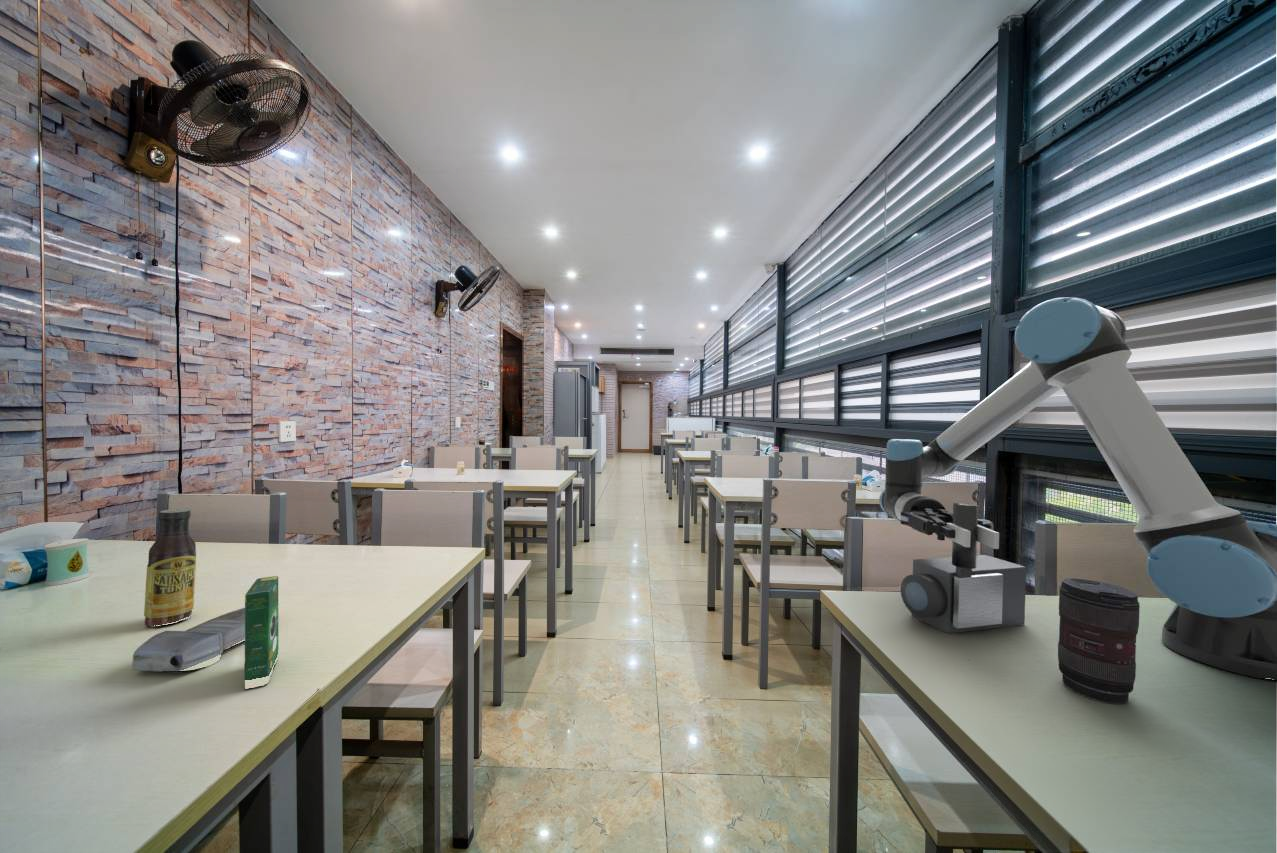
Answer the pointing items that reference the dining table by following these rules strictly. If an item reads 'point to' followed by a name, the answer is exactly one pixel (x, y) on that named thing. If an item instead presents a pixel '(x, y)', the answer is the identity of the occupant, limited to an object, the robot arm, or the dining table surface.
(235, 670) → the dining table surface
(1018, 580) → the camera housing
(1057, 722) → the dining table surface
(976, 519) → the side door
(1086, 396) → the robot arm
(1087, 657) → the camera lens
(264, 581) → the coffee box
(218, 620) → the handheld device
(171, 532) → the sauce bottle
